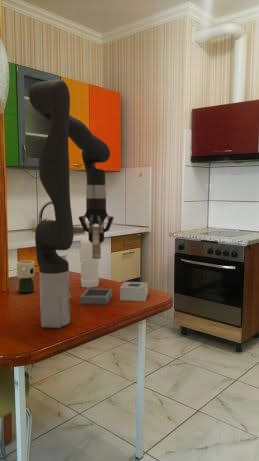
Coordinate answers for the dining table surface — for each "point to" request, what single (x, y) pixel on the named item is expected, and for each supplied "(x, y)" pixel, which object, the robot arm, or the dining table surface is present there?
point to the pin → (96, 243)
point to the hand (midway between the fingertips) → (96, 242)
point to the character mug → (25, 275)
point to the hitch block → (134, 291)
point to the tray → (96, 297)
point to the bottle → (88, 263)
